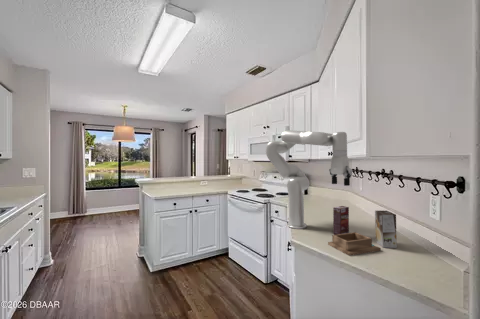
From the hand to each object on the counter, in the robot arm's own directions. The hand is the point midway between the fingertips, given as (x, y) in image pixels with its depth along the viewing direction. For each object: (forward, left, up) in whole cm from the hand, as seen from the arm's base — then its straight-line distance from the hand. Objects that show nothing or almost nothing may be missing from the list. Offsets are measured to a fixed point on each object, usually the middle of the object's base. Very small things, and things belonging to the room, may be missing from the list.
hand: (340, 184), depth 126 cm
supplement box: (0, 0, -29) cm, 29 cm away
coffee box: (+18, +11, -29) cm, 36 cm away
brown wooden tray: (+16, -7, -29) cm, 33 cm away
